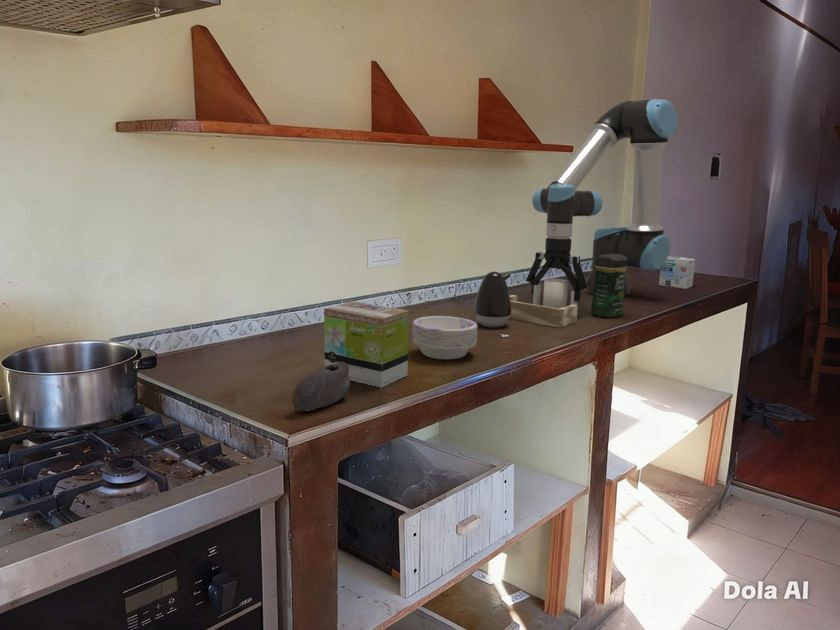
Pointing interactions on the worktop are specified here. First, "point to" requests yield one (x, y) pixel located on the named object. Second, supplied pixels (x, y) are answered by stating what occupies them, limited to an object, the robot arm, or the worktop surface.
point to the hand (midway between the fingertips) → (554, 308)
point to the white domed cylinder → (555, 293)
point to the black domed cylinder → (493, 301)
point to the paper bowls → (444, 336)
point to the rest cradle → (543, 313)
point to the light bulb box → (677, 272)
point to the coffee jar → (609, 285)
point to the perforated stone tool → (322, 387)
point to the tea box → (367, 341)
